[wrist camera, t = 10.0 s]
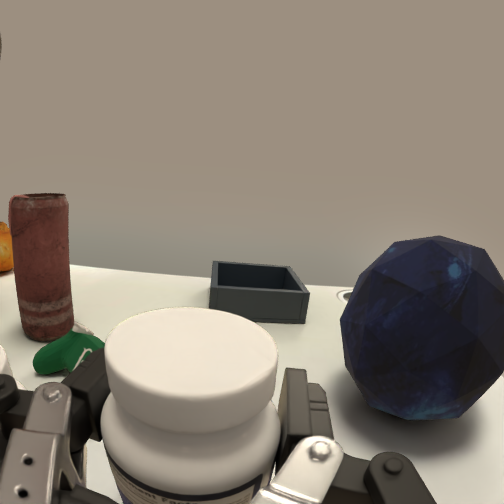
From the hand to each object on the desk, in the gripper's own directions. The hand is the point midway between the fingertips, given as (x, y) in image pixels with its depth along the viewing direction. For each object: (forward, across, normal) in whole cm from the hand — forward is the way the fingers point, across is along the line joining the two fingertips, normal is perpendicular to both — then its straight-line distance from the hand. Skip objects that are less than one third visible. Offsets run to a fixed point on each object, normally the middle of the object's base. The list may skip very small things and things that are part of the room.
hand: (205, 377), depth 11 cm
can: (+14, +20, +9) cm, 26 cm away
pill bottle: (-2, 0, +7) cm, 8 cm away
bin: (+31, 0, +9) cm, 32 cm away
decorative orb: (+11, -15, +9) cm, 21 cm away
